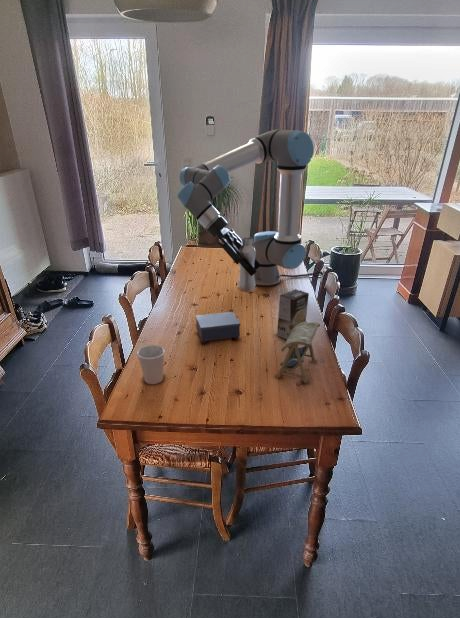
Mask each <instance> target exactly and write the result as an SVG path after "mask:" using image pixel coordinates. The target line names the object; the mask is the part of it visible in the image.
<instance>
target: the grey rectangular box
mask: <svg viewBox="0 0 460 618" xmlns="http://www.w3.org/2000/svg"><path fill="white" fill-rule="evenodd" d="M194 316H195V322H196V331H197V335H198V336H199V338H200V341H201V344H202V345H207V342H208V341H217V340H223V339H224V340H225V339H231V338H232V339H233V341H239V338H240V335H241V334H240V332H241V331H240V330H241V329H240V328H241V322H240V320H239V319H238V317H237V316H236V314H235V312H234V311H227V312H225V311H224V312H216V313H207V314H197V315H194Z"/></svg>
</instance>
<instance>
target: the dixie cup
mask: <svg viewBox="0 0 460 618" xmlns="http://www.w3.org/2000/svg"><path fill="white" fill-rule="evenodd" d="M165 353H166V351H165V348H164V347H162V346H160V345H157V344H149V345H145V346H141V347H140V348H139V349H138V350H137V351H136V355H137V357H138V360H139V365H140V368H141V372H142V375H143V379H144V382H145V383H146V384H148V385H155V384H159V383H161V382H162V381H163V380H164V362H165V361H164V360H165Z"/></svg>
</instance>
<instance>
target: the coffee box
mask: <svg viewBox="0 0 460 618" xmlns="http://www.w3.org/2000/svg"><path fill="white" fill-rule="evenodd" d="M309 296H310V293H309V292H306V291H303V290H300V289H296V288H295V289H292V290H290V291H287V292H284V293H281V294H279V302H278V315H277V328H276V329H277V330H276V336H278V337H281V338H282V339H285V340H286V341H287V340H288V338H289V336H290V334H291V332H292V330H293V328H294V327H295V326H296V325H298V324H300V323H302V322H306V321H307V313H308V305H309Z"/></svg>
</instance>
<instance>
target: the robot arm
mask: <svg viewBox="0 0 460 618" xmlns="http://www.w3.org/2000/svg"><path fill="white" fill-rule="evenodd" d="M314 151H315V146H314V141H313V139H312V137H311V136H310V134H309V133H308V132H305V131H303V130H297V129H293V130H292V129H281V128H280V129H279V128H277V129H272V130H269V131H267V132H264V133H262V134H259V135H257V136H255V137H252V138H250V139H249V141H248V143H246V144H244V145H241V146H239V147H237V148H235V149H232V150H230V151H228V152H226V153H224V154H221V155H219V156H216V157H214V158H212V159H209V160H207V161H205V162H203V163H200V164H197V165H196V166H185V167H183V168H182V169H181V170H180V173H179V182H180V184H181V185H182V186H183V187H181V189H180V190H179V191H178V193H177V199H178V200H179V202H180V203H181V204H182V205H183V207H184V208H185V209H186V210H187V211H188V212H189V213H190V214H191V215H192V216H193V217H194V218H195V219H196V220H197V222H198V223H199V225H200V226H202V227H203V228H204V229H206V232H207V233H208V235H210V237H212V238H216V237H217V238H218V241H217V244H218V245H219V246H220V247H221V248H222V249H223V250H224V251H225V252H226V254H227V255H228V256H229V257H230V258H231V260H232V261H233V262H234V263H235V264H236V265H239V263H240V264H241V265H242V266H243V268H244V269H245V270H246V271H247V272H248V273H249V274H250V275H251V276H252V275H254V279H255V286H258V287H259V286H260V287H272V286H276V285H278V284H280V283H281V277H286V278H287V277H288V278H298V277H308V276H314V275H317V274H321V275H323V274H322V272H323V271H321V270H318V271H315V272H313V273H304V274H281V273H280V269H279V267H281V268H283V269H287V270H295V269H298V268H299V267H300V265H301V264H302V263H303V262H304V260H305V257H306V253H307V251H306V247H305V245H303V244H302V236H301V235H300V234H299V223H300V209H301V194H302V178H303V173H304V172H305V171H306V170H307V165H309V163H310V162H311V161H312V159H313V156H314V154H315V153H314ZM266 162H276V169H277V171H278V172H279V173H280V179H279V198H278V199H279V201H278V222H277V223H278V225H277V231H275V230H269V231H261V232H257V233H255V234H254V235H253V241H252V242H253V244H252V246H253V247H254V249H255V251H256V257H255V263H254V267H253V266H252V265H251V264H250V263H249V261H248V260H247V259H246V258H243V256H242V255H241V253H240V252H239V249H240V247H241V246H242V245H243V244H242V238H241V237H240V236H239V234H237V233H236V232H235V230H234V229H233V228H231V229H229V228H227V226H228V224H229V223H228V221H227V220H226V219H225V218H224V217H223V216H222V215H221V213H220V212H219V211H218V210H217V208H216V207H215V206H214V205H213V203H211V201H213V200H214V199H215V198H216V197H217V196H218V195H219V194H220V193H221V192H222V191H224V190H225V189H226V188H227V186H228V185H229V184H230V183H231V176H230V175H231V174H233V173H237V172H238V171H240V170H242V169H244V168H246V167H249V166H251V165H254V164H257V165H260V164H262V163H266Z"/></svg>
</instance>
